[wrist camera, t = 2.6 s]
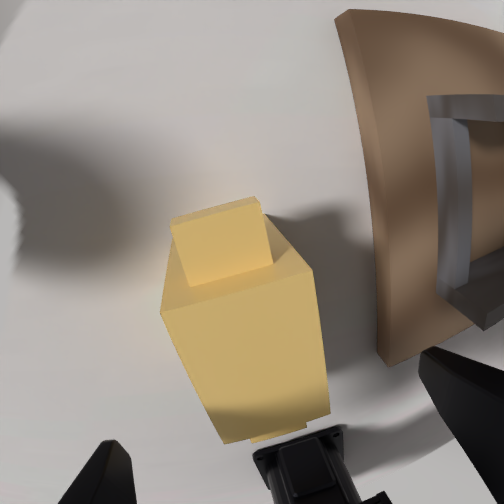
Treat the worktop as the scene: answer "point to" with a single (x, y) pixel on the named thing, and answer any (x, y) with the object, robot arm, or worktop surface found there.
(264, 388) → the block
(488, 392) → the robot arm
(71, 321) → the worktop surface
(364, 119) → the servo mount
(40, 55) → the worktop surface
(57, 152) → the worktop surface
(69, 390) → the worktop surface
